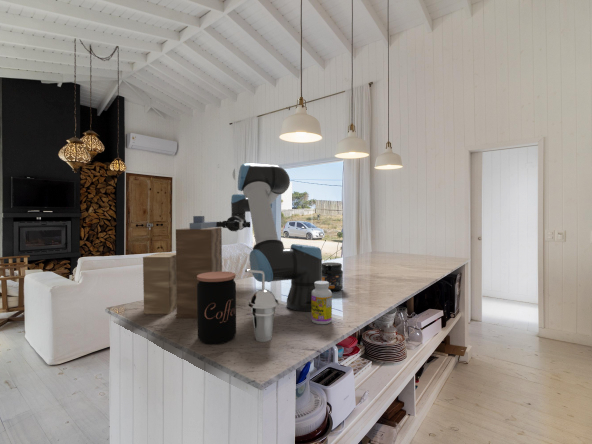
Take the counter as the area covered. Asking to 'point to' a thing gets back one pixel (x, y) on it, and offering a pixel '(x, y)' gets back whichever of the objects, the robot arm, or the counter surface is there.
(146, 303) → the oak block
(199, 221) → the lid
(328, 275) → the supplement container
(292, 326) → the counter surface
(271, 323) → the cup with straw
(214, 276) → the coffee jar
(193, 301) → the walnut box
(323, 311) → the supplement bottle
